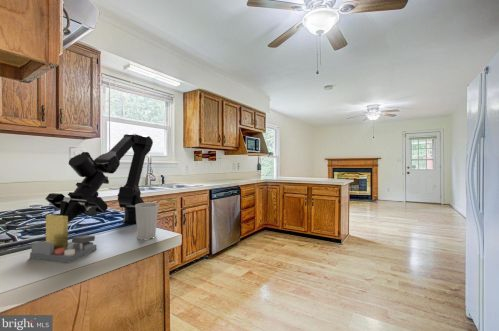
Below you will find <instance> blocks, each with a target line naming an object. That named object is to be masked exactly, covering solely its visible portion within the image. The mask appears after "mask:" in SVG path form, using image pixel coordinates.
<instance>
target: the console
mask: <svg viewBox="0 0 499 331" xmlns="http://www.w3.org/2000/svg"><path fill="white" fill-rule="evenodd" d="M95 250H97V244H94V241H90V242H86V243H73V242H72V240H71V241H69V240H68V247H67V248H56V249H55V248H54V243H49V242H46V241H40V240H35V241H32V242H31V252H30V253H29V259H35V260H42V261H45V260H46V261H50V262H51V261H52V262H57V263H58V262H59V263H65V264H70V263H71V262H73V261H75V260H77V259H79V258H81V257H84V256H85V255H87V254H89V253H91V252H94V251H95Z"/></svg>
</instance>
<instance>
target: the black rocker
mask: <svg viewBox="0 0 499 331" xmlns="http://www.w3.org/2000/svg"><path fill="white" fill-rule="evenodd" d="M95 239H96V237H95V235H90V234H89V235H88V234H86V235H85V234H84V235H80V236H79V235H78V236H73V237H72V239H71V242H73V243H86V242H94V241H95Z"/></svg>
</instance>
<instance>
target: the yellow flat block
mask: <svg viewBox="0 0 499 331" xmlns="http://www.w3.org/2000/svg"><path fill="white" fill-rule="evenodd" d="M68 228H69V222H68V216H62V215H60V214H59V215H58V214H52V213H51V214H47V215H45V242H49V243H54V248H55V249H56V248H67V247H68V241H69V239H68V238H69V229H68Z"/></svg>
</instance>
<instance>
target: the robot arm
mask: <svg viewBox="0 0 499 331" xmlns="http://www.w3.org/2000/svg"><path fill="white" fill-rule="evenodd" d="M153 141H154V140H153V139H152V137H151V136H149V135H139V134H136V133H125V134H123V137H121V139H119V141H118V142H117V143H116V144H114V146H113V147H112V148H111V149H110V150H109V151H107V152H105V153H102V154H100V155H98V156H97V157H96V158H92V156H91V154H90V153H89V152H88V151H82V152H81V153H79V154H77V155H75V156H73V157H71V158H69V161H68V165H69V167H71V168H72V169H73V171H74V172H75V174H77V175H78V176H79V177H81V178H83V180H81V182H76V183H75V186H76V189H74V191H72V192H69V193H67V196H68V197H67V196H65V195H64V194H63V193H59V192H58V193H56V192H51V193H49V194H47V196H46V197H45V201H47V202H48V203H49V204H50V205H52V206H53V207H54V208H56V209H57V210H58V209H59V215H62V216H68V223H70V222H71V221H72V220H74V219H75V218H76V217H78V216H79V215H85V216H92V217H95V216H96V215H97V214H98V213H99V214H105V213H106V212H107V210H108V204H107V203H106V202H105V200H103V198H102V197H101V196H99V192H98V191H99V190H100V188H101V186H102V185H103V184H107V185H108V184H110V180H109V176H106V175H105V174H114V173H116V172H117V169H118V168H119V167H120V164H121V163H120V161H121V160H122V158H123V157H124V156H125V155H126V154H127V153H128V152H129V151H130V149H131V150H132V152H133V156H132V158H131V159H132V160H131V163H130V168H129V171H128V175H127V179H126V183H125V185H123V186H120V187H119V189H118V193H117V201H118V205H119V208H121V209H122V208H124V211H123V212H124V216H123V217H124V218H122V219H123V221H122V224H132V223H136V209H135V205H136V204H139V203H145V201H144V200H143V198H142V197H141V193H142V191H141V189H140V187H139V185H140V180H141V176H142V172H143V168H144V163H145V159H146V156H147V154H149V153H150V151H151V149H152V147H153V143H154V142H153Z"/></svg>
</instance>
